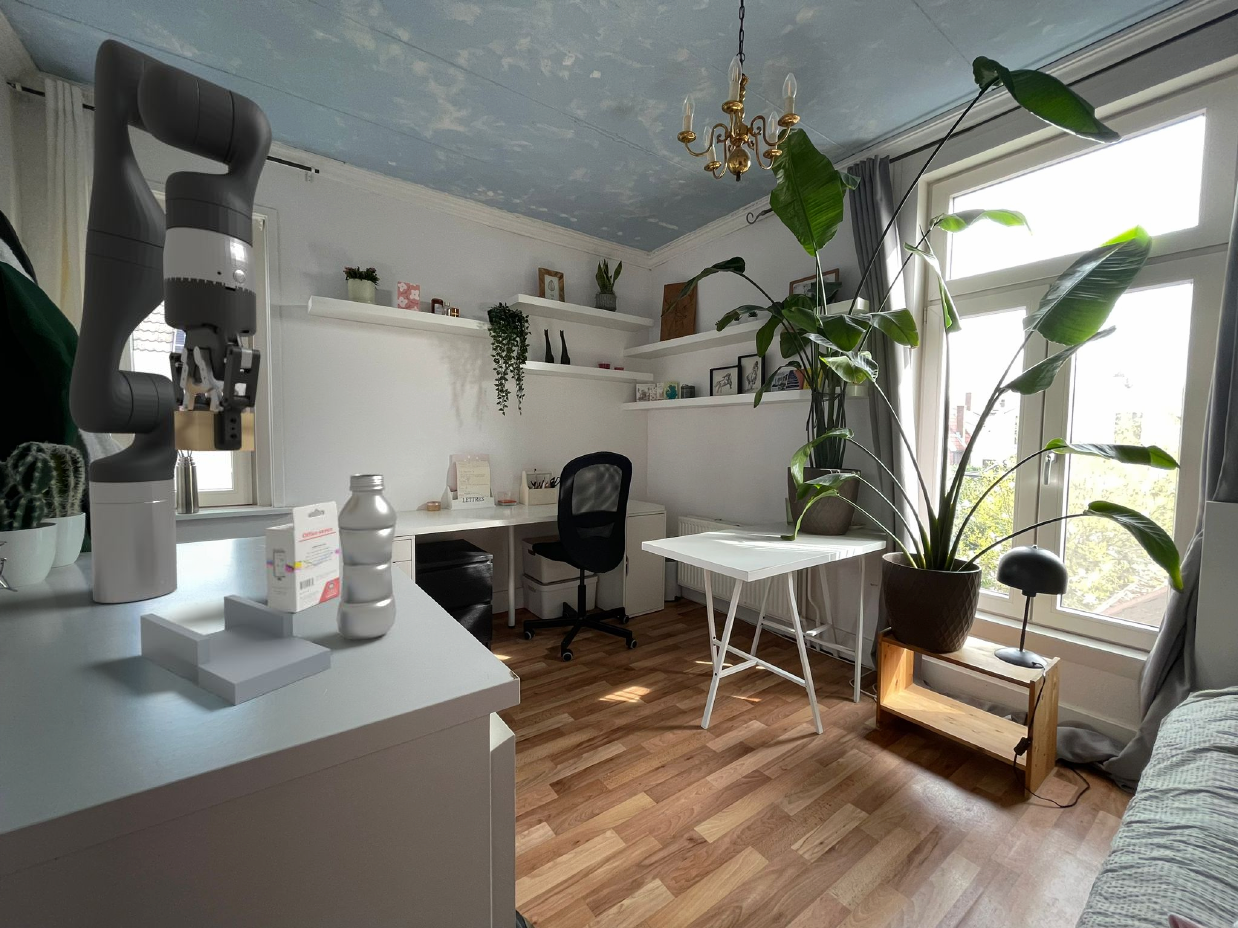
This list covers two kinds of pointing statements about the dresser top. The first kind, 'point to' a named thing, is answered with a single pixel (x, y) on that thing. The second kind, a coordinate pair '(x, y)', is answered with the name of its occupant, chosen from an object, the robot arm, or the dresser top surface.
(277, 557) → the ink cartridge box
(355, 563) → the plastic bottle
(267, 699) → the dresser top surface
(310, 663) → the grey angular piece
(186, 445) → the oak block
